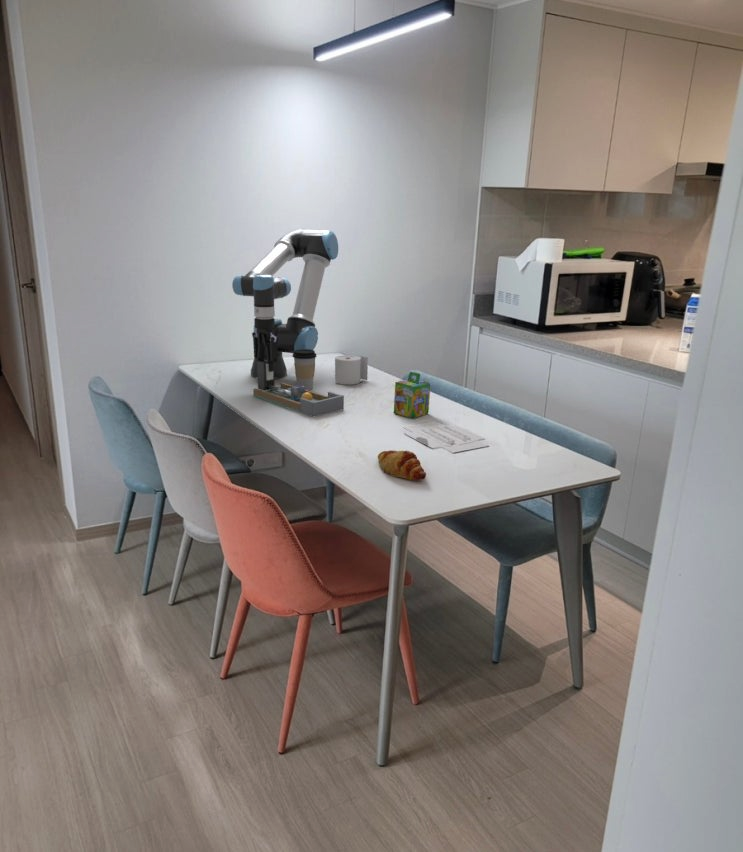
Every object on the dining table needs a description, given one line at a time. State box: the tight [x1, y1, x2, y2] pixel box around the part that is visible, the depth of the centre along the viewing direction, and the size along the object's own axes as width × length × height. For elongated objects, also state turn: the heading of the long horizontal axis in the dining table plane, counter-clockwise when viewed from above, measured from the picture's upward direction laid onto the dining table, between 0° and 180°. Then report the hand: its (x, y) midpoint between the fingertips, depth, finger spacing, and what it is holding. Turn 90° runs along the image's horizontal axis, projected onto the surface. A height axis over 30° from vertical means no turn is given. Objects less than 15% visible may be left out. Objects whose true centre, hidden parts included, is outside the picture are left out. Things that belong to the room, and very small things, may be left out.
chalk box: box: [393, 371, 431, 420], centre depth 248 cm, size 9×9×15 cm
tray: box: [403, 421, 489, 454], centre depth 227 cm, size 20×28×4 cm
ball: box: [301, 392, 312, 401], centre depth 257 cm, size 4×4×4 cm
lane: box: [252, 382, 328, 413], centre depth 263 cm, size 14×28×4 cm, turn 45°
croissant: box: [377, 449, 427, 482], centre depth 197 cm, size 21×10×8 cm, turn 35°
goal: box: [299, 391, 345, 417], centre depth 251 cm, size 14×8×5 cm, turn 135°
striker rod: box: [257, 359, 305, 401], centre depth 266 cm, size 5×22×11 cm, turn 45°
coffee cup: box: [291, 349, 317, 391], centre depth 278 cm, size 9×9×15 cm
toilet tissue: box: [334, 354, 369, 386], centre depth 291 cm, size 11×12×10 cm
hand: (266, 378), depth 272 cm, fingers closed on striker rod, 4 cm apart
